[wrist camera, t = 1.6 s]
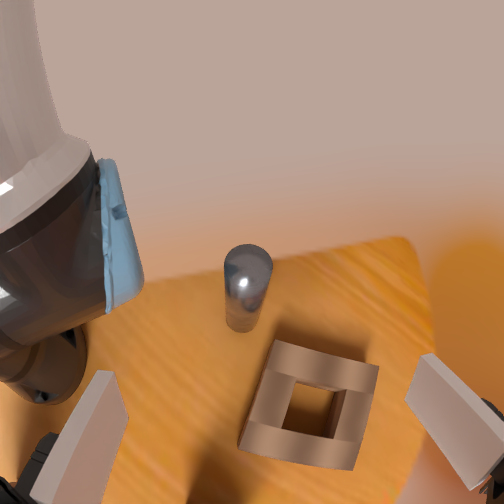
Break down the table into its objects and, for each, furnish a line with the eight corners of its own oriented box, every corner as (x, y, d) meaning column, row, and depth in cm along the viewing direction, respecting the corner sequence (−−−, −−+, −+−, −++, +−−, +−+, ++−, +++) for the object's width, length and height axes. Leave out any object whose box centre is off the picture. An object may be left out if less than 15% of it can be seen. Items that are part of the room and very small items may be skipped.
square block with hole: (237, 444, 27) (238, 449, 24) (270, 346, 34) (275, 339, 30) (339, 465, 26) (352, 470, 22) (364, 371, 33) (379, 366, 29)
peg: (221, 326, 35) (217, 277, 23) (232, 299, 37) (233, 238, 25) (252, 337, 34) (265, 293, 22) (261, 308, 36) (278, 252, 24)
